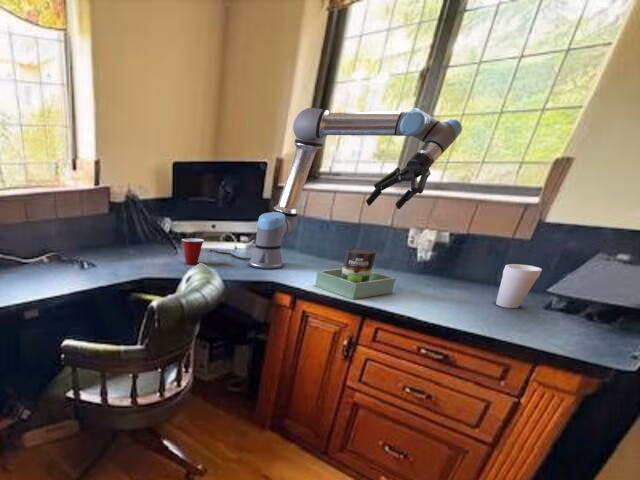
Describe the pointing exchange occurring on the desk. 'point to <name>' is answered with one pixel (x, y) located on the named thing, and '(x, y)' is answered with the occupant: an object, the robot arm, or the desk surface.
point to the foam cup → (516, 284)
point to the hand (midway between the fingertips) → (381, 205)
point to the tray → (354, 284)
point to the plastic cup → (192, 250)
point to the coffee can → (358, 264)
